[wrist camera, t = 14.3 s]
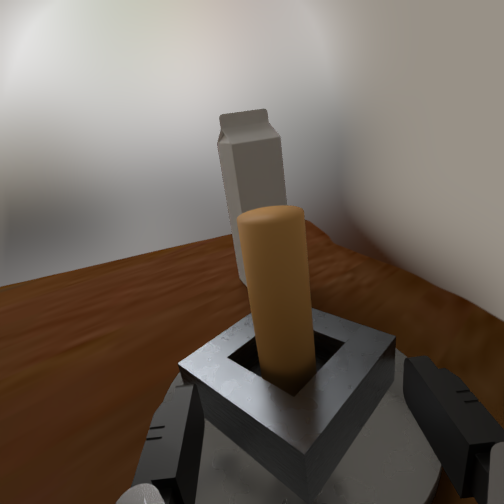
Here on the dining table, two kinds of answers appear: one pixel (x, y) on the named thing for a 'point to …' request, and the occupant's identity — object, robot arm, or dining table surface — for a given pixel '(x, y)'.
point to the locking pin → (279, 294)
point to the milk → (250, 168)
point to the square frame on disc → (309, 423)
